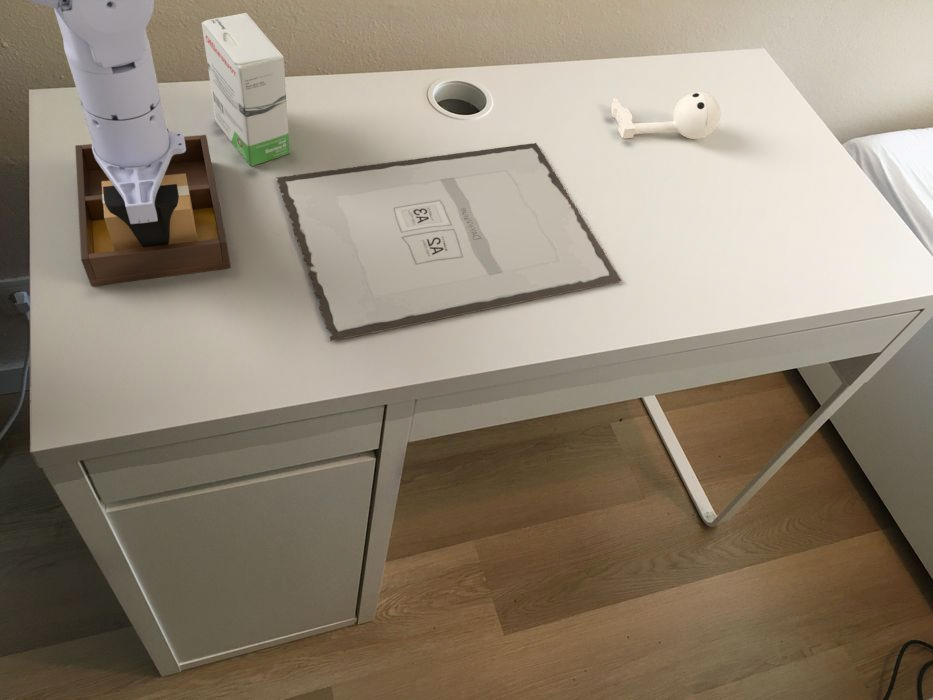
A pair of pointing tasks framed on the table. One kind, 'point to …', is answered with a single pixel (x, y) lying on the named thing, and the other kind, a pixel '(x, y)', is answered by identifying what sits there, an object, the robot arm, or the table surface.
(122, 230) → the parcel
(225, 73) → the ink box
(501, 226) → the picture frame
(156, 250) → the tray
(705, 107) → the figurine
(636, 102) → the table surface
